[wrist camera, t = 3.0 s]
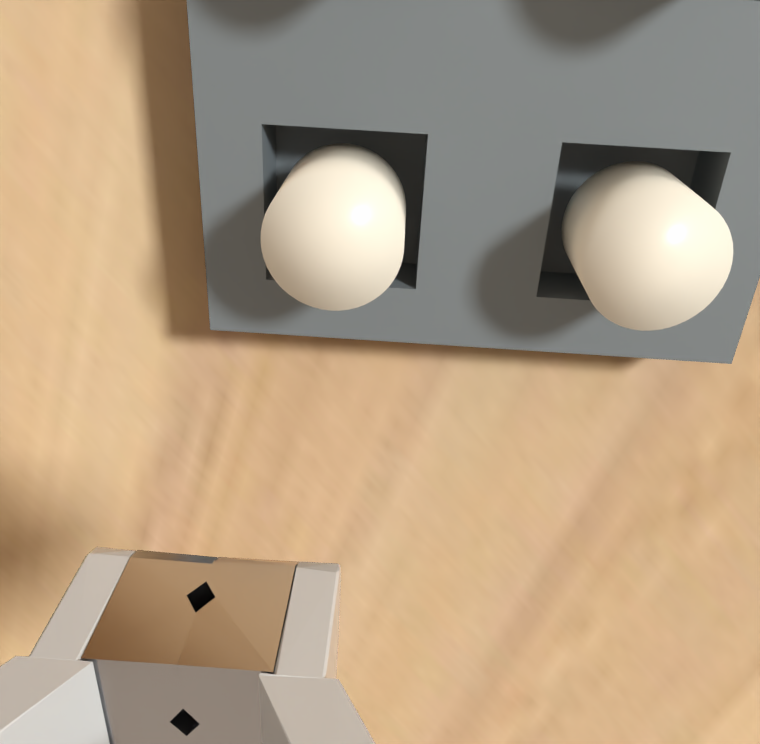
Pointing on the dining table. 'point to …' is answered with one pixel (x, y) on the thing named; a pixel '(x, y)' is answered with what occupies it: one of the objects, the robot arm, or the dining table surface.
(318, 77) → the button board
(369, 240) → the button
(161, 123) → the dining table surface
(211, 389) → the dining table surface
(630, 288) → the button
